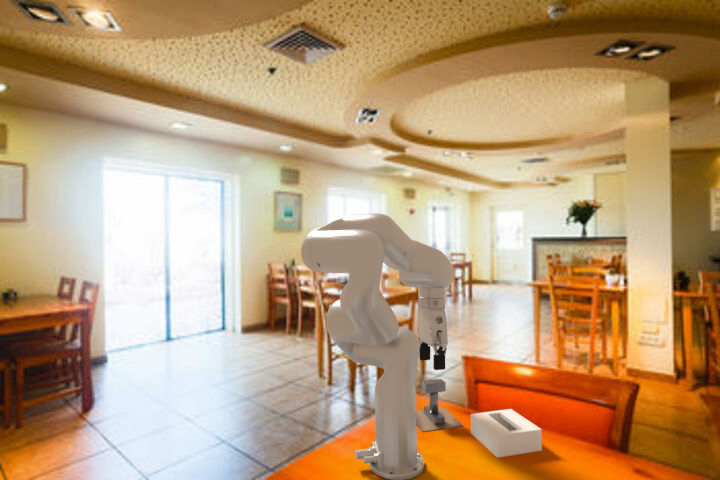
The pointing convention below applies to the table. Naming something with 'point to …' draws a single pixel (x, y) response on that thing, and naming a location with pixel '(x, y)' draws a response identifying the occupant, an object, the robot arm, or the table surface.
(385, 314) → the robot arm
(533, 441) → the block
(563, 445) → the table surface
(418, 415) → the grey flat square plate
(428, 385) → the t key
